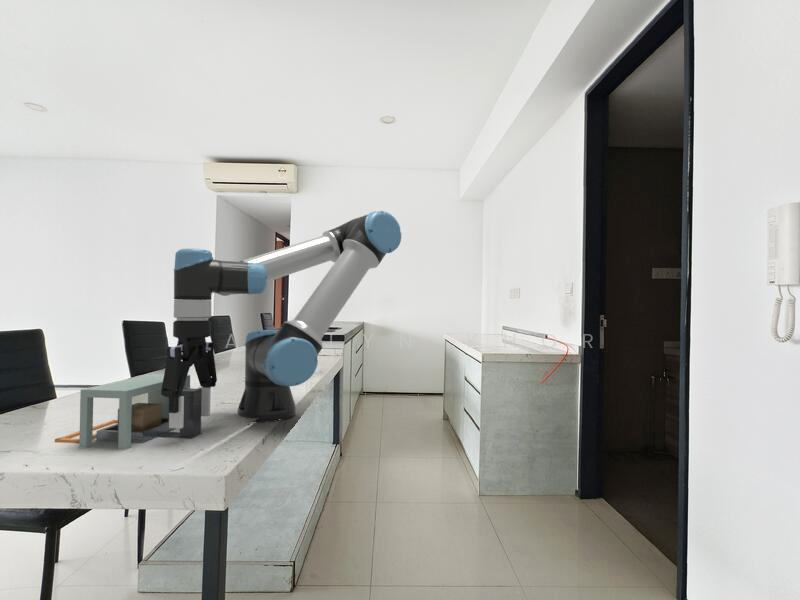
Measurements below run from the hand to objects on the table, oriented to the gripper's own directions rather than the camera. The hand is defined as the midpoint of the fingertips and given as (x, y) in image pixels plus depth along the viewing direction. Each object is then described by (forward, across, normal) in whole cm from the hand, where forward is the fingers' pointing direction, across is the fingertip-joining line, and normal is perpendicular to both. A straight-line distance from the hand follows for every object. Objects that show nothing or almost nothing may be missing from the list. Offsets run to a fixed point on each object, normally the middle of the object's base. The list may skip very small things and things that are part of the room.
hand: (190, 421), depth 94 cm
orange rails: (+4, 0, -22) cm, 22 cm away
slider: (+4, 0, -8) cm, 9 cm away
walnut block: (+3, 0, -12) cm, 12 cm away
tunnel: (+4, 0, -12) cm, 13 cm away
